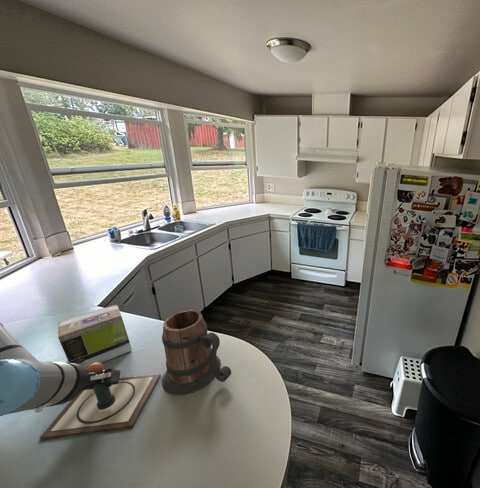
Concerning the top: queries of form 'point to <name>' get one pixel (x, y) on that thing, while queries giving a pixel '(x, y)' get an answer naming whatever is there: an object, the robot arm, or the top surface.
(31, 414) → the top surface
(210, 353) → the tankard
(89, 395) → the sketch board
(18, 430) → the top surface
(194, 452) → the top surface
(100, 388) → the dot stamp
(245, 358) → the top surface
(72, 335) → the tea box
